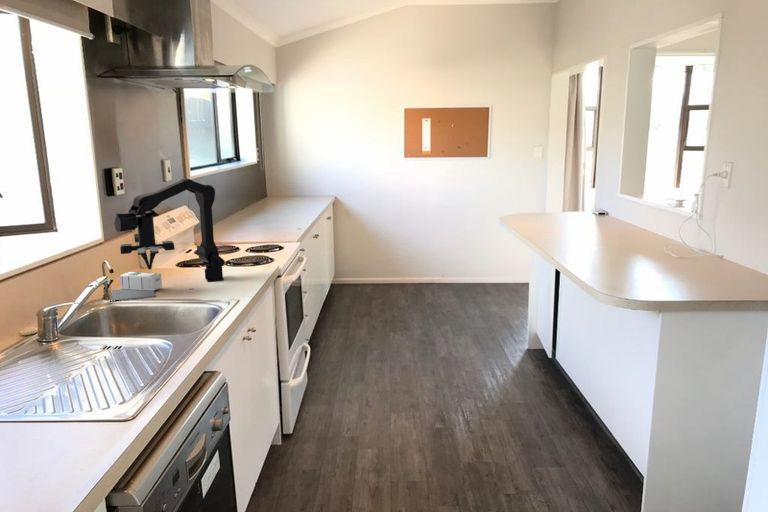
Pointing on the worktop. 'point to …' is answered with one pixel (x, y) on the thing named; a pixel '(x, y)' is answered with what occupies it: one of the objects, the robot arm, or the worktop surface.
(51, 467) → the worktop surface
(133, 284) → the syrup box
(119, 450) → the worktop surface
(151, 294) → the mat
